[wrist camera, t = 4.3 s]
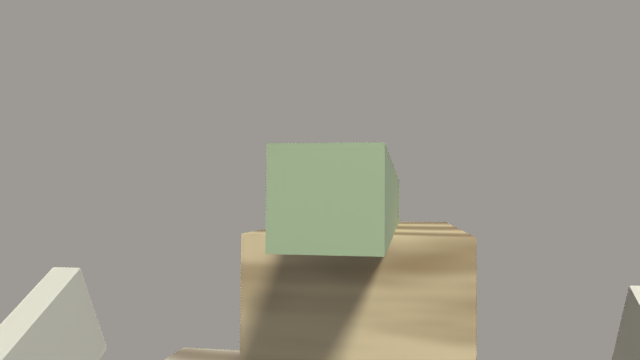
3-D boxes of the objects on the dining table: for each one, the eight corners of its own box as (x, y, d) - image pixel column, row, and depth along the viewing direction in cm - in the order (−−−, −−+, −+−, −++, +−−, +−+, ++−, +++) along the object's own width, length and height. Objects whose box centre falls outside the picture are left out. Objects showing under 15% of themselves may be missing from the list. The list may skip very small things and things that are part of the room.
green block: (384, 256, 15) (384, 142, 15) (265, 253, 15) (266, 143, 15) (398, 222, 40) (399, 180, 40) (354, 221, 41) (355, 180, 41)
